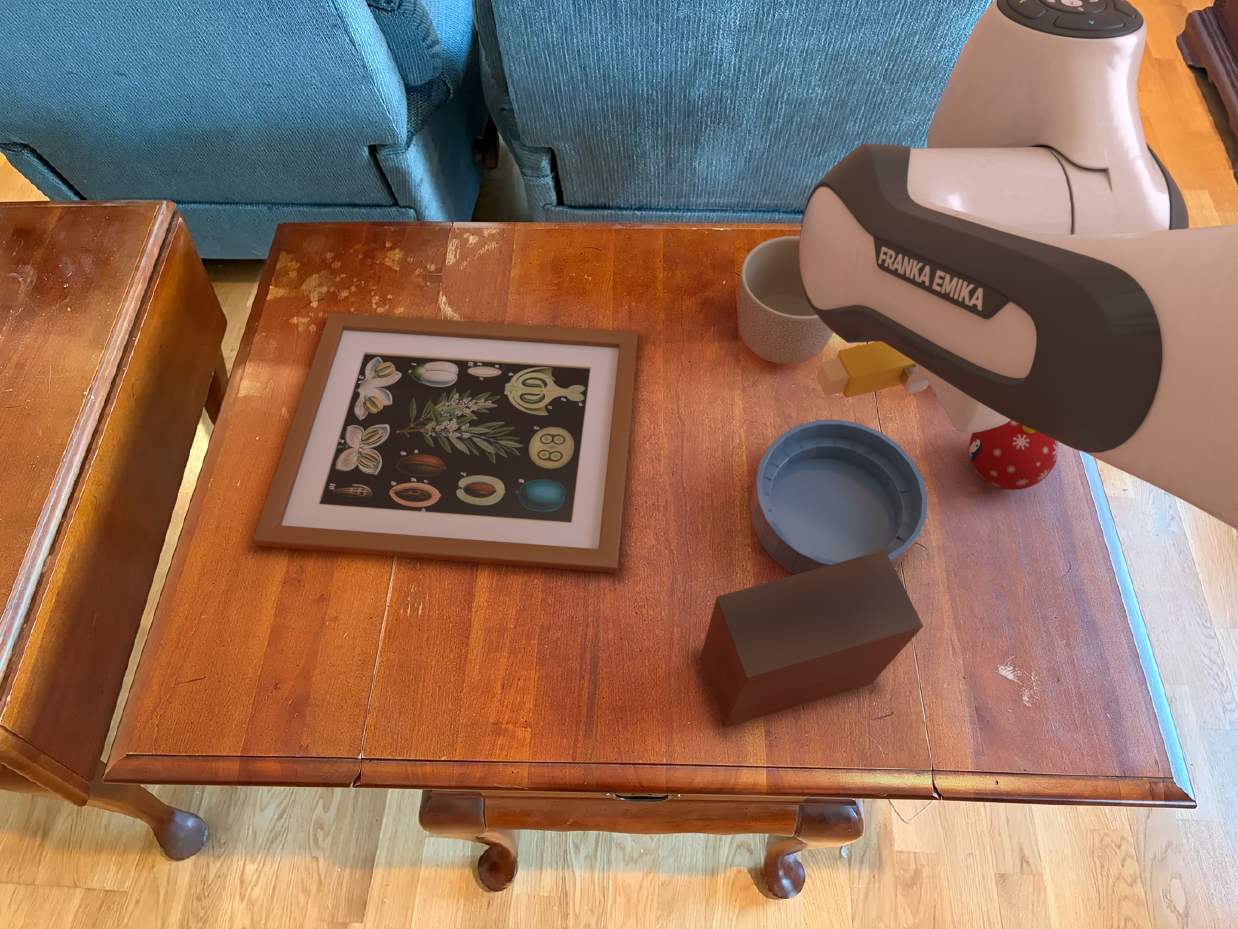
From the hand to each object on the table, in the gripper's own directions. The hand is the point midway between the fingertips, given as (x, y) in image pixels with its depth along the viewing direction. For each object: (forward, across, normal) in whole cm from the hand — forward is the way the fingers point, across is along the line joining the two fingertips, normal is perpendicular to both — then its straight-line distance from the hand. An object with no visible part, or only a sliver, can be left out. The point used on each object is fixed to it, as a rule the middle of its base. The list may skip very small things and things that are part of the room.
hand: (899, 365), depth 67 cm
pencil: (+1, 0, 0) cm, 1 cm away
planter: (+27, -24, +4) cm, 36 cm away
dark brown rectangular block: (+26, +14, -11) cm, 32 cm away
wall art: (+26, -21, -36) cm, 49 cm away
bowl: (+26, 0, 0) cm, 26 cm away
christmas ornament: (+26, 0, +20) cm, 33 cm away
